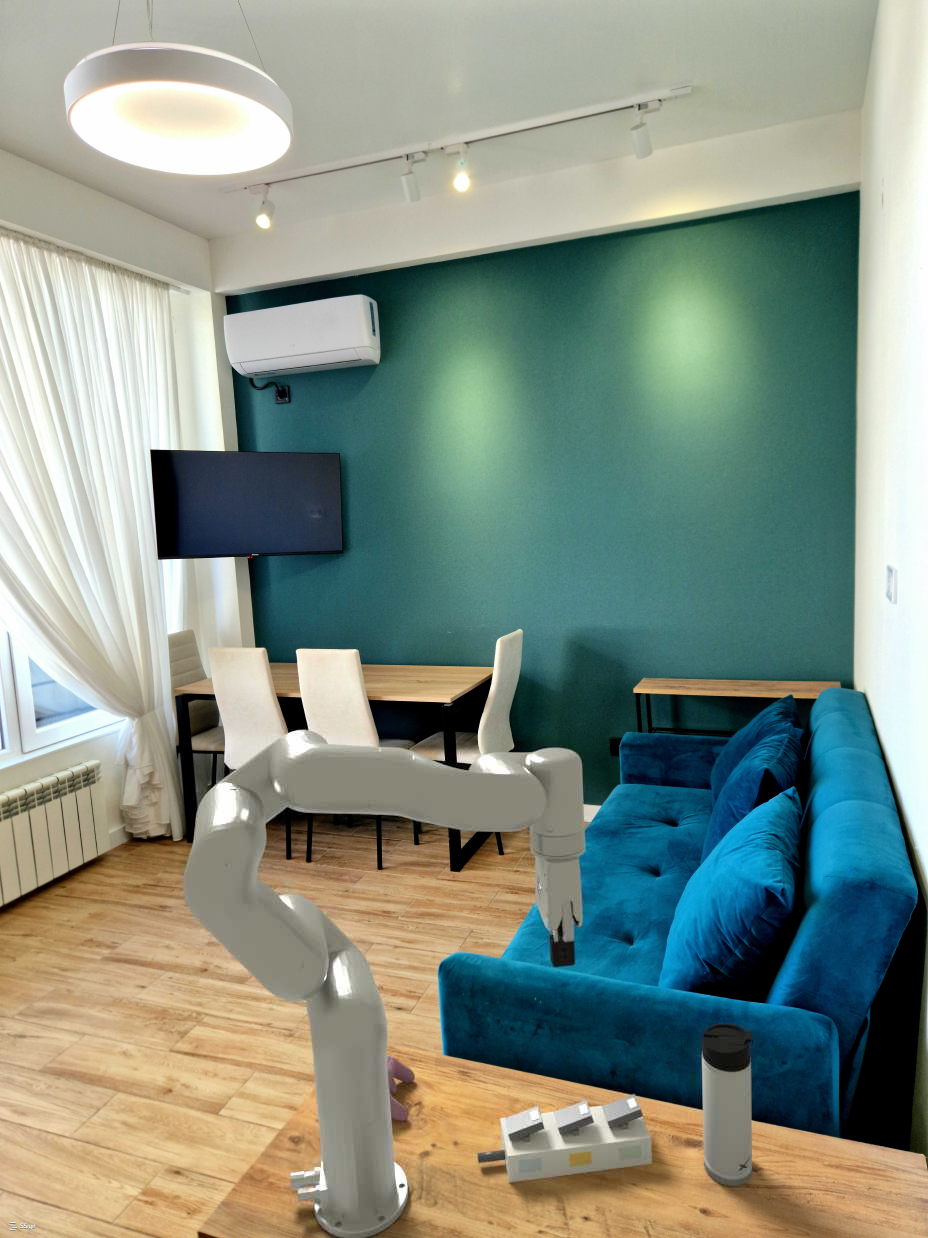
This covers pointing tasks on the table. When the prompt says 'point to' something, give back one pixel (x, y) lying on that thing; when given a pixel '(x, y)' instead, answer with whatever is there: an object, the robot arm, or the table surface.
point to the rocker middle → (573, 1117)
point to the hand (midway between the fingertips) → (562, 963)
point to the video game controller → (399, 1073)
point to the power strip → (572, 1148)
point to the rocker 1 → (524, 1123)
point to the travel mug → (727, 1103)
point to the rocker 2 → (622, 1111)
